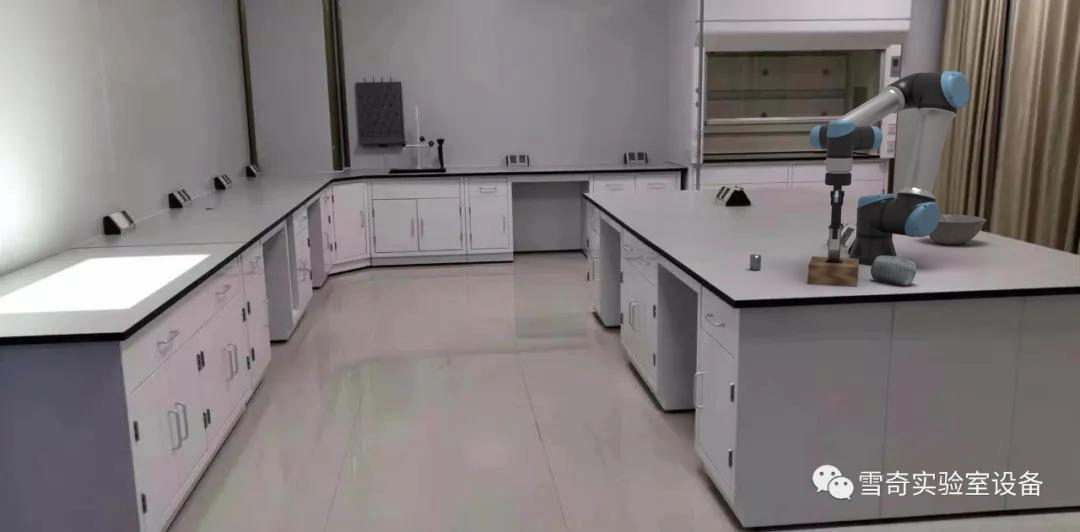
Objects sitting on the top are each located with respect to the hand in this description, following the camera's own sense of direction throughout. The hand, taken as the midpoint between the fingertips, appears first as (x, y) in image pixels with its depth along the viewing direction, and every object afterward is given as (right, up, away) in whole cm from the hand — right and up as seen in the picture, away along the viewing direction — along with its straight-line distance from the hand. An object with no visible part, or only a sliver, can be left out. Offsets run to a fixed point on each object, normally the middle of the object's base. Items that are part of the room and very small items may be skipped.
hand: (834, 248), depth 251 cm
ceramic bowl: (+66, +3, +61) cm, 90 cm away
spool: (+17, -11, -3) cm, 20 cm away
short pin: (-19, -7, +20) cm, 29 cm away
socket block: (0, -10, +2) cm, 10 cm away
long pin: (0, -7, +1) cm, 7 cm away
